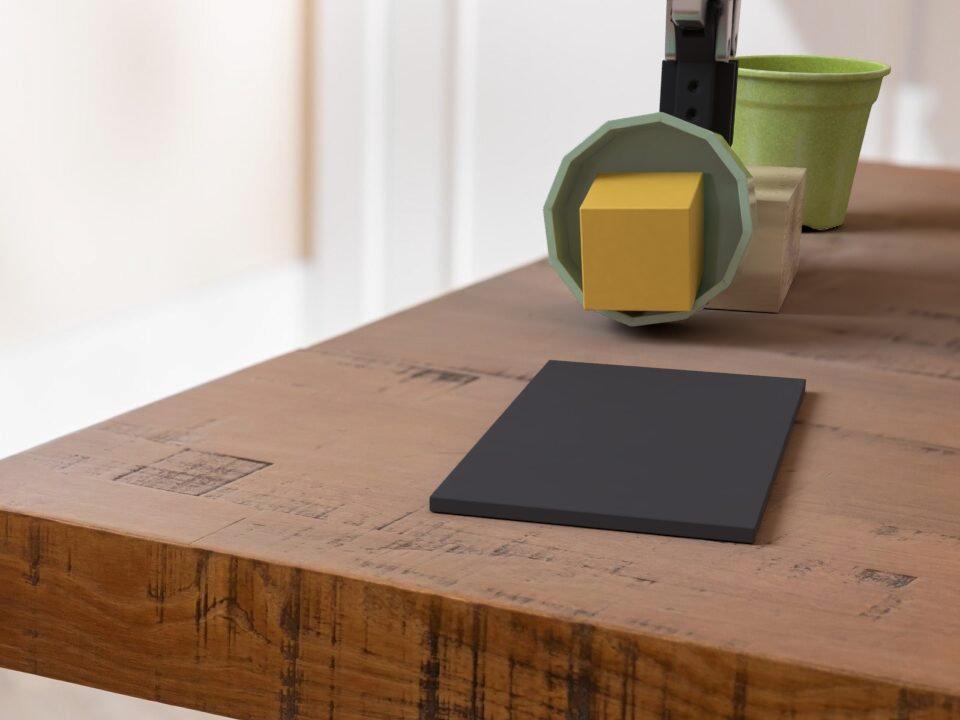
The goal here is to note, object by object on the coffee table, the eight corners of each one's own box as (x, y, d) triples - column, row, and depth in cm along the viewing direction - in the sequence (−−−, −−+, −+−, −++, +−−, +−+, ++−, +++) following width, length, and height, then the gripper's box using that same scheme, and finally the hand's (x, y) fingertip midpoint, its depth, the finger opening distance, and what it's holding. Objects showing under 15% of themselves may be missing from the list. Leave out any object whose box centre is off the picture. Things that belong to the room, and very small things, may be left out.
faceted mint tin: (605, 88, 81) (592, 84, 78) (790, 162, 79) (784, 160, 76) (531, 274, 84) (514, 277, 80) (708, 349, 82) (699, 355, 79)
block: (597, 172, 80) (579, 207, 76) (704, 171, 79) (690, 207, 75) (601, 271, 82) (583, 310, 79) (704, 272, 81) (691, 312, 77)
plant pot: (903, 220, 105) (920, 61, 102) (827, 245, 99) (843, 75, 95) (754, 202, 111) (766, 51, 108) (673, 224, 104) (683, 63, 101)
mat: (548, 371, 74) (548, 359, 74) (805, 391, 71) (806, 378, 71) (428, 511, 58) (429, 496, 58) (753, 544, 55) (754, 528, 55)
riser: (618, 259, 95) (623, 159, 93) (798, 269, 93) (807, 167, 91) (580, 300, 86) (585, 190, 84) (778, 313, 84) (787, 200, 82)
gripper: (797, -312, 71) (758, 180, 77) (830, -285, 84) (795, 133, 90) (601, -308, 73) (580, 171, 79) (663, -281, 86) (641, 127, 93)
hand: (694, 150), depth 85 cm, fingers closed
